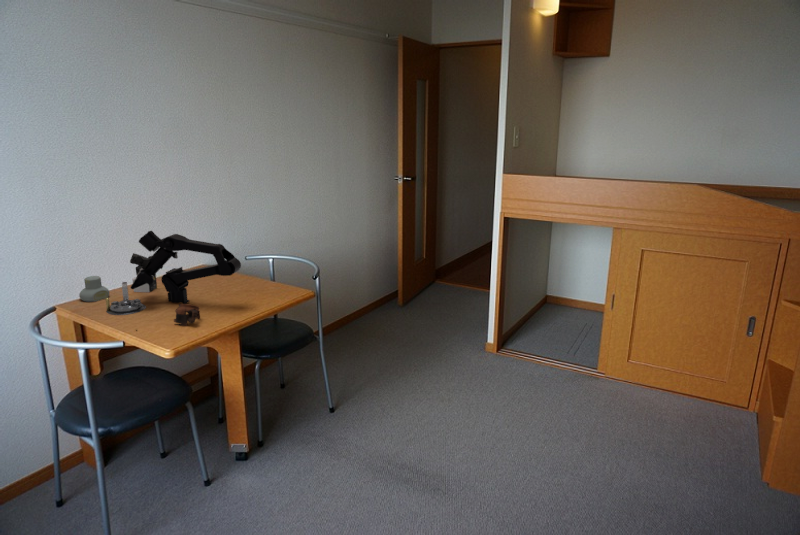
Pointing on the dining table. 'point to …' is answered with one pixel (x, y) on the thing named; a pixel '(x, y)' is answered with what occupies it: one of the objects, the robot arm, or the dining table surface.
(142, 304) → the flange
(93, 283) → the air freshener
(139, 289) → the medicine bottle
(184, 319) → the pottery mug
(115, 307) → the grey studded disc
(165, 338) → the dining table surface
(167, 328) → the dining table surface
